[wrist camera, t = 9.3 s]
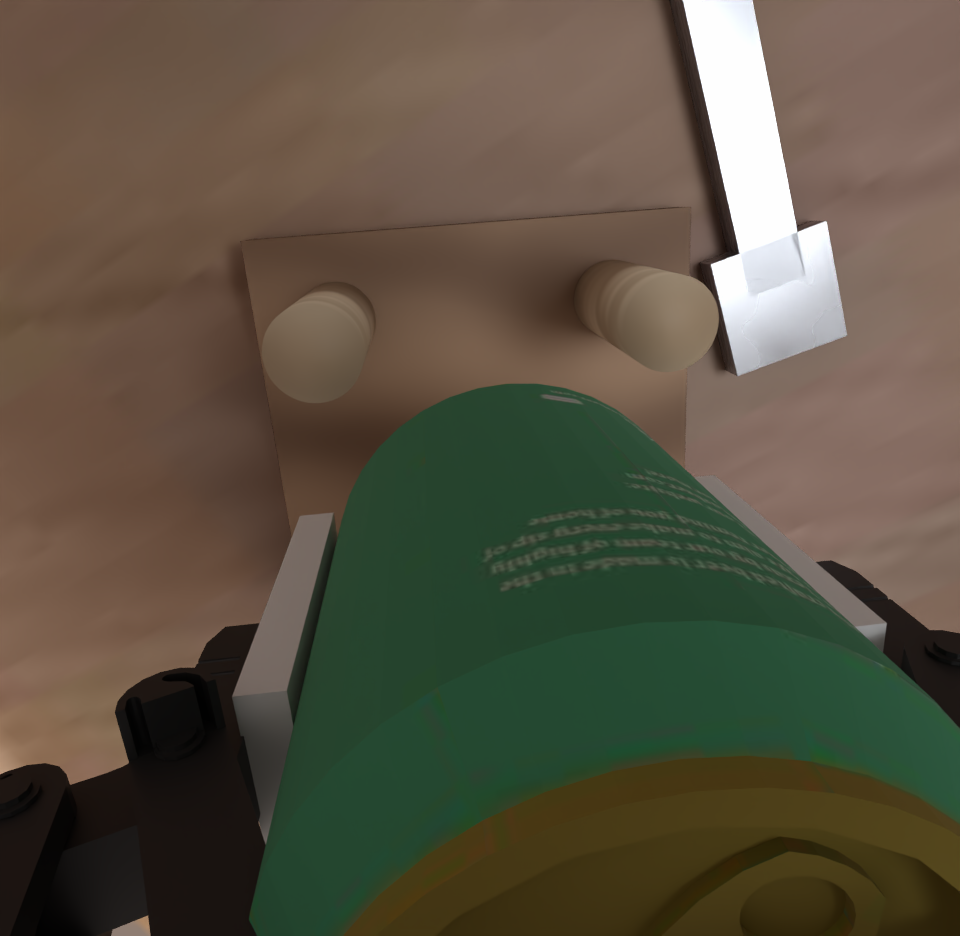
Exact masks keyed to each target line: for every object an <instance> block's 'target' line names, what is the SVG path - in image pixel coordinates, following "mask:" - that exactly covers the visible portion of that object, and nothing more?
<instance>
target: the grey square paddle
mask: <svg viewBox="0 0 960 936" xmlns="http://www.w3.org/2000/svg"><path fill="white" fill-rule="evenodd" d="M669 1H670V5H671V10H672V14H673V18H674V23H675V27H676V31H677V36H678V40H679V44H680V49H681V53H682V57H683V62H684V66H685V70H686V75H687V79H688V84H689V88H690V92H691V97H692V101H693V105H694V110H695V114H696V118H697V123H698V127H699V131H700V136H701V140H702V144H703V149H704V153H705V158H706V162H707V166H708V171H709V175H710V179H711V184H712V188H713V192H714V197H715V201H716V205H717V210H718V214H719V218H720V223H721V227H722V232H723V236H724V240H725V245H726V249H727V253H724V254H721V255H719V256H716V257H713V258H711V259H708V260H705V261H703V262H700V266H701V270H702V275H703V279H704V283H705V286H706V287H707V288H708V289H709V290H710V292H711V293H712V295H713V297H714V299H715V301H716V304H717V307H718V313H719V323H718V329H717V336H718V340H719V344H720V348H721V352H722V357H723V361H724V365H725V369H726V371H728V372H730V373H732V374H734V375H736V376H739V375H742V374H745V373H747V372H750V371H753V370H755V369H758V368H761V367H764V366H766V365H769V364H772V363H774V362H777V361H780V360H782V359H785V358H788V357H790V356H793V355H796V354H799V353H801V352H804V351H807V350H809V349H812V348H815V347H817V346H820V345H823V344H826V343H828V342H831V341H834V340H836V339H839V338H842V337H844V336H847V332H846V327H845V321H844V316H843V310H842V305H841V299H840V293H839V288H838V282H837V277H836V271H835V266H834V260H833V255H832V249H831V244H830V238H829V232H828V227H827V221H809V222H806V223H804V224H801V225H798V226H796V222H795V217H794V212H793V206H792V201H791V196H790V191H789V186H788V181H787V176H786V171H785V165H784V160H783V155H782V150H781V145H780V140H779V135H778V130H777V124H776V119H775V114H774V109H773V104H772V99H771V94H770V88H769V83H768V78H767V73H766V68H765V63H764V58H763V53H762V47H761V42H760V37H759V32H758V27H757V22H756V17H755V11H754V6H753V1H752V0H669Z"/></svg>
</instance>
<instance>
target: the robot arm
mask: <svg viewBox="0 0 960 936" xmlns="http://www.w3.org/2000/svg"><path fill="white" fill-rule="evenodd" d="M694 478H695V479H696V480H697V481H698V482H699V483H700V484H701V485H702V486H704V487H705V488H706V489H707V490H708V491H709V492H710V493H711V494H712V495H713V496H714V497H715V498H716V499H718V500H719V501H720V502H721V503H722V504H723V505H724V506H725V507H726V508H727V509H728V510H729V511H731V512H732V513H733V514H734V515H735V516H736V517H737V518H738V519H739V520H740V521H741V522H742V523H743V524H745V525H746V526H747V527H748V528H749V529H750V530H751V531H752V532H753V533H754V534H755V535H756V536H757V537H759V538H760V539H761V540H762V541H763V542H764V543H765V544H766V545H767V546H768V547H769V548H770V549H772V550H773V551H774V552H775V553H776V554H777V555H778V556H779V557H780V558H781V559H782V560H783V561H784V562H786V563H787V564H788V565H789V566H790V567H791V568H792V569H793V570H794V571H795V572H796V573H797V574H798V575H800V576H801V577H802V578H803V579H804V580H805V581H806V582H807V583H808V584H809V585H810V586H811V587H813V588H814V589H815V590H816V591H817V592H818V593H819V594H820V595H821V596H822V597H823V598H824V599H825V600H827V601H828V602H829V603H830V604H831V605H832V606H833V607H834V608H835V609H836V610H837V611H838V612H840V613H841V614H842V615H843V616H844V617H845V618H846V619H847V620H848V621H849V622H850V623H851V624H852V625H854V626H855V627H856V628H857V629H858V630H859V631H860V632H861V633H862V634H863V635H864V636H865V637H866V638H868V639H869V640H870V641H871V642H872V643H873V644H874V645H875V646H876V647H877V648H878V649H879V650H881V651H882V652H883V653H884V654H885V655H886V656H887V657H888V658H889V659H890V660H891V661H892V662H893V663H895V664H896V665H897V666H898V667H899V668H900V669H901V670H902V671H903V672H904V673H905V674H906V675H907V676H909V677H910V678H911V679H912V680H913V681H914V682H915V683H916V684H917V685H918V686H919V687H920V688H922V689H923V690H924V691H925V692H926V693H927V694H928V695H929V696H930V697H931V698H932V699H933V700H934V701H936V703H937V704H938V705H939V706H940V707H941V708H942V709H943V710H944V711H945V713H946V714H947V715H948V716H949V717H950V718H951V719H952V720H953V721H954V723H955V724H956V725H957V726H958V727H959V728H960V633H954V632H949V631H943V630H929V629H927V628H926V627H925V626H924V625H922V624H921V623H920V622H919V621H917V620H916V619H915V618H914V617H912V616H911V615H910V614H909V613H907V612H906V611H905V610H904V609H902V608H901V607H900V606H899V605H897V604H896V603H895V602H894V601H893V600H891V599H889V600H888V598H887V596H886V595H885V594H884V593H883V592H881V591H880V590H879V589H878V588H874V587H873V584H871V583H870V582H869V581H868V580H866V579H865V578H864V577H863V576H861V575H860V574H859V573H858V572H856V571H854V570H852V569H850V568H847V567H845V566H843V565H840V564H838V563H836V562H833V561H821V562H815V561H814V560H813V559H811V558H810V557H809V556H808V555H807V554H806V553H804V552H803V551H802V550H801V549H800V548H799V547H797V546H796V545H795V544H794V543H793V542H792V541H790V540H789V539H788V538H787V537H786V536H785V535H783V534H782V533H781V532H780V531H779V530H778V529H776V528H775V527H774V526H773V525H772V524H771V523H770V522H768V521H767V520H766V519H765V518H764V517H763V516H761V515H760V514H759V513H758V512H757V511H756V510H754V509H753V508H752V507H751V506H750V505H749V504H747V503H746V502H745V501H744V500H743V499H742V498H740V497H739V496H738V495H737V494H736V493H735V492H733V491H732V490H731V489H730V488H729V487H728V486H726V485H725V484H724V483H723V482H722V481H721V480H719V479H718V478H717V477H716V476H715V475H710V476H699V477H694ZM336 542H337V531H336V524H335V517H334V513H324V514H314V515H303V516H300V517H299V520H298V522H297V525H296V528H295V530H294V533H293V536H292V538H291V541H290V544H289V546H288V549H287V552H286V554H285V557H284V560H283V562H282V565H281V568H280V570H279V573H278V576H277V578H276V581H275V584H274V586H273V589H272V592H271V594H270V597H269V600H268V602H267V605H266V608H265V610H264V613H263V616H262V618H261V621H260V623H258V624H248V625H239V626H230V627H225V628H224V629H222V630H221V631H220V632H219V633H218V634H217V635H216V636H215V637H213V638H212V639H211V640H210V641H209V642H208V643H207V644H206V646H205V648H204V650H203V652H202V654H201V656H200V658H199V661H198V662H199V663H198V664H197V665H196V667H195V668H177V669H173V670H168V671H164V672H160V673H158V674H155V675H153V676H151V677H148V678H146V679H143V680H142V681H140V682H139V683H137V684H136V685H134V686H133V687H131V688H130V689H128V690H127V691H126V693H125V694H124V695H123V696H122V697H121V698H120V699H119V701H118V703H117V706H116V710H115V714H116V718H117V721H118V725H119V728H120V732H121V736H122V739H123V743H124V746H125V750H126V753H127V757H128V760H129V764H127V765H125V766H123V767H121V768H119V769H116V770H113V771H111V772H108V773H106V774H103V775H100V776H97V777H94V778H90V779H87V780H84V781H81V782H78V783H75V784H72V785H70V784H69V781H68V778H67V775H66V773H65V772H64V771H63V770H62V769H61V768H60V767H59V766H55V765H50V764H46V763H44V764H34V765H26V766H23V767H20V768H17V769H14V770H10V771H7V772H5V773H3V774H0V936H111V933H112V929H115V928H117V927H120V926H122V925H125V924H127V923H130V922H132V921H135V920H137V919H140V918H142V917H145V916H147V915H148V918H149V925H150V933H151V936H257V935H256V933H255V931H254V929H253V927H252V925H251V923H250V921H249V916H250V910H251V906H252V902H253V897H254V893H255V889H256V885H257V880H258V876H259V872H260V867H261V863H262V859H263V855H264V850H265V846H266V842H267V837H268V833H269V829H270V825H271V820H272V816H273V812H274V807H275V803H276V799H277V795H278V790H279V786H280V782H281V777H282V773H283V769H284V765H285V760H286V756H287V752H288V747H289V743H290V739H291V735H292V730H293V726H294V722H295V717H296V713H297V709H298V705H299V700H300V696H301V692H302V687H303V683H304V679H305V675H306V670H307V666H308V662H309V657H310V653H311V649H312V645H313V640H314V636H315V632H316V627H317V623H318V619H319V615H320V610H321V606H322V602H323V597H324V593H325V589H326V585H327V580H328V576H329V572H330V567H331V563H332V559H333V555H334V550H335V546H336ZM258 822H259V823H260V826H259V823H258ZM260 827H261V829H260Z"/></svg>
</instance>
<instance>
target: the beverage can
mask: <svg viewBox="0 0 960 936" xmlns="http://www.w3.org/2000/svg"><path fill="white" fill-rule="evenodd" d="M249 921H250V923H251V925H252V927H253V929H254V931H255V933H256V935H257V936H960V728H959V727H958V726H957V725H956V724H955V723H954V721H953V720H952V719H951V718H950V717H949V716H948V715H947V714H946V713H945V711H944V710H943V709H942V708H941V707H940V706H939V705H938V704H937V703H936V701H934V700H933V699H932V698H931V697H930V696H929V695H928V694H927V693H926V692H925V691H924V690H923V689H922V688H920V687H919V686H918V685H917V684H916V683H915V682H914V681H913V680H912V679H911V678H910V677H909V676H907V675H906V674H905V673H904V672H903V671H902V670H901V669H900V668H899V667H898V666H897V665H896V664H895V663H893V662H892V661H891V660H890V659H889V658H888V657H887V656H886V655H885V654H884V653H883V652H882V651H881V650H879V649H878V648H877V647H876V646H875V645H874V644H873V643H872V642H871V641H870V640H869V639H868V638H866V637H865V636H864V635H863V634H862V633H861V632H860V631H859V630H858V629H857V628H856V627H855V626H854V625H852V624H851V623H850V622H849V621H848V620H847V619H846V618H845V617H844V616H843V615H842V614H841V613H840V612H838V611H837V610H836V609H835V608H834V607H833V606H832V605H831V604H830V603H829V602H828V601H827V600H825V599H824V598H823V597H822V596H821V595H820V594H819V593H818V592H817V591H816V590H815V589H814V588H813V587H811V586H810V585H809V584H808V583H807V582H806V581H805V580H804V579H803V578H802V577H801V576H800V575H798V574H797V573H796V572H795V571H794V570H793V569H792V568H791V567H790V566H789V565H788V564H787V563H786V562H784V561H783V560H782V559H781V558H780V557H779V556H778V555H777V554H776V553H775V552H774V551H773V550H772V549H770V548H769V547H768V546H767V545H766V544H765V543H764V542H763V541H762V540H761V539H760V538H759V537H757V536H756V535H755V534H754V533H753V532H752V531H751V530H750V529H749V528H748V527H747V526H746V525H745V524H743V523H742V522H741V521H740V520H739V519H738V518H737V517H736V516H735V515H734V514H733V513H732V512H731V511H729V510H728V509H727V508H726V507H725V506H724V505H723V504H722V503H721V502H720V501H719V500H718V499H716V498H715V497H714V496H713V495H712V494H711V493H710V492H709V491H708V490H707V489H706V488H705V487H704V486H702V485H701V484H700V483H699V482H698V481H697V480H696V479H695V478H694V477H693V476H692V475H691V474H690V473H688V472H687V471H686V470H685V469H684V468H683V467H682V466H681V465H680V464H679V463H678V462H677V461H675V460H674V459H673V458H672V457H671V456H670V455H669V454H668V453H667V452H666V451H665V450H664V449H663V448H661V447H660V446H659V445H658V444H657V443H656V442H655V441H654V440H653V439H652V438H651V437H650V436H649V435H647V434H646V433H645V432H644V431H643V430H642V429H641V428H640V427H639V426H638V425H636V424H635V423H634V422H632V421H631V420H630V419H628V418H627V417H626V416H624V415H623V414H622V413H620V412H619V411H618V410H616V409H615V408H613V407H611V406H609V405H607V404H605V403H603V402H601V401H599V400H597V399H595V398H593V397H591V396H588V395H585V394H582V393H579V392H576V391H573V390H570V389H567V388H562V387H556V386H549V385H543V384H501V385H495V386H488V387H482V388H477V389H474V390H471V391H467V392H464V393H461V394H458V395H455V396H452V397H449V398H447V399H445V400H443V401H441V402H439V403H437V404H435V405H433V406H431V407H429V408H427V409H425V410H423V411H421V412H420V413H419V414H417V415H416V416H414V417H413V418H412V419H410V420H409V421H407V422H406V423H405V424H403V425H402V426H400V427H399V428H398V429H397V430H396V431H395V432H394V433H393V434H392V435H391V436H390V437H389V438H388V439H387V440H386V441H385V442H384V443H383V444H382V445H381V446H380V447H379V448H378V449H377V450H376V452H375V453H374V454H373V456H372V457H371V458H370V460H369V461H368V463H367V464H366V465H365V467H364V468H363V469H362V471H361V473H360V475H359V477H358V479H357V481H356V483H355V485H354V487H353V489H352V491H351V493H350V495H349V498H348V501H347V504H346V507H345V511H344V514H343V517H342V520H341V525H340V529H339V533H338V537H337V542H336V546H335V550H334V555H333V559H332V563H331V567H330V572H329V576H328V580H327V585H326V589H325V593H324V597H323V602H322V606H321V610H320V615H319V619H318V623H317V627H316V632H315V636H314V640H313V645H312V649H311V653H310V657H309V662H308V666H307V670H306V675H305V679H304V683H303V687H302V692H301V696H300V700H299V705H298V709H297V713H296V717H295V722H294V726H293V730H292V735H291V739H290V743H289V747H288V752H287V756H286V760H285V765H284V769H283V773H282V777H281V782H280V786H279V790H278V795H277V799H276V803H275V807H274V812H273V816H272V820H271V825H270V829H269V833H268V837H267V842H266V846H265V850H264V855H263V859H262V863H261V867H260V872H259V876H258V880H257V885H256V889H255V893H254V897H253V902H252V906H251V910H250V916H249Z"/></svg>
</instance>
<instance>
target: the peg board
mask: <svg viewBox="0 0 960 936" xmlns="http://www.w3.org/2000/svg"><path fill="white" fill-rule="evenodd" d="M690 227H691V207H673V208H660V209H647V210H634V211H621V212H608V213H595V214H581V215H568V216H555V217H542V218H529V219H516V220H502V221H489V222H476V223H463V224H450V225H437V226H423V227H410V228H397V229H384V230H371V231H358V232H345V233H331V234H318V235H305V236H292V237H279V238H266V239H252V240H245V241H240V242H241V247H242V253H243V259H244V265H245V271H246V276H247V282H248V288H249V294H250V300H251V305H252V311H253V317H254V323H255V329H256V334H257V340H258V346H259V352H260V358H261V363H262V369H263V375H264V381H265V387H266V392H267V398H268V404H269V410H270V416H271V421H272V427H273V433H274V439H275V445H276V450H277V456H278V462H279V468H280V474H281V480H282V485H283V491H284V497H285V503H286V509H287V514H288V520H289V526H290V532H291V538H292V536H293V533H294V530H295V528H296V525H297V522H298V520H299V517H300V516H303V515H314V514H324V513H334V517H335V524H336V531H337V537H338V533H339V529H340V525H341V520H342V517H343V514H344V511H345V507H346V504H347V501H348V498H349V495H350V493H351V491H352V489H353V487H354V485H355V483H356V481H357V479H358V477H359V475H360V473H361V471H362V469H363V468H364V467H365V465H366V464H367V463H368V461H369V460H370V458H371V457H372V456H373V454H374V453H375V452H376V450H377V449H378V448H379V447H380V446H381V445H382V444H383V443H384V442H385V441H386V440H387V439H388V438H389V437H390V436H391V435H392V434H393V433H394V432H395V431H396V430H397V429H398V428H399V427H400V426H402V425H403V424H405V423H406V422H407V421H409V420H410V419H412V418H413V417H414V416H416V415H417V414H419V413H420V412H421V411H423V410H425V409H427V408H429V407H431V406H433V405H435V404H437V403H439V402H441V401H443V400H445V399H447V398H449V397H452V396H455V395H458V394H461V393H464V392H467V391H471V390H474V389H477V388H482V387H488V386H495V385H501V384H543V385H549V386H556V387H562V388H567V389H570V390H573V391H576V392H579V393H582V394H585V395H588V396H591V397H593V398H595V399H597V400H599V401H601V402H603V403H605V404H607V405H609V406H611V407H613V408H615V409H616V410H618V411H619V412H620V413H622V414H623V415H624V416H626V417H627V418H628V419H630V420H631V421H632V422H634V423H635V424H636V425H638V426H639V427H640V428H641V429H642V430H643V431H644V432H645V433H646V434H647V435H649V436H650V437H651V438H652V439H653V440H654V441H655V442H656V443H657V444H658V445H659V446H660V447H661V448H663V449H664V450H665V451H666V452H667V453H668V454H669V455H670V456H671V457H672V458H673V459H674V460H675V461H677V462H678V463H679V464H680V465H681V466H682V467H683V468H684V469H685V432H686V391H687V367H689V366H691V365H693V364H694V363H696V362H697V361H698V360H699V359H701V358H702V357H703V356H704V355H705V353H706V352H707V351H708V350H709V348H710V347H711V345H712V343H713V341H714V339H715V336H716V333H717V329H718V323H719V313H718V307H717V304H716V301H715V299H714V297H713V295H712V293H711V292H710V290H709V289H708V288H707V287H706V286H705V285H704V284H703V283H702V282H700V281H698V280H697V279H695V278H692V277H690V276H689V268H690Z"/></svg>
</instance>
